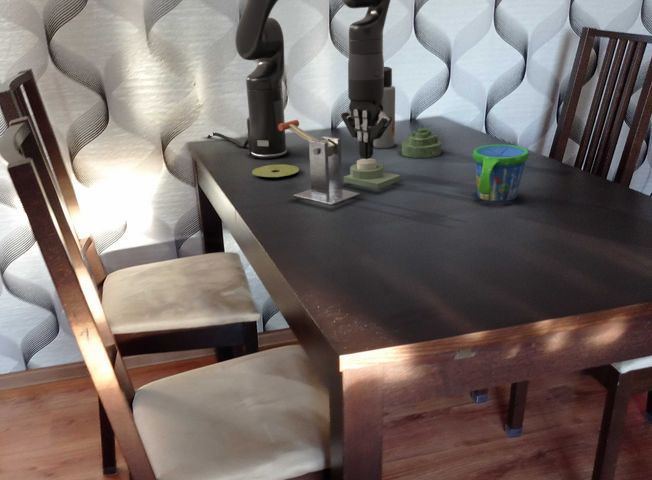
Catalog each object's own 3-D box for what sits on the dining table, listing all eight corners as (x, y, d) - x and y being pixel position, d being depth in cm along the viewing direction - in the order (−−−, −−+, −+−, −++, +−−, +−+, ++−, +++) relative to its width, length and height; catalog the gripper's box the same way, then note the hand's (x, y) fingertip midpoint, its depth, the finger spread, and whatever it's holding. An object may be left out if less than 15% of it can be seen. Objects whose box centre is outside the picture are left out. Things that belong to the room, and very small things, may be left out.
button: (352, 169, 157) (352, 161, 156) (365, 165, 160) (365, 157, 159) (368, 172, 154) (368, 164, 154) (380, 167, 157) (380, 160, 156)
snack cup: (502, 215, 136) (507, 162, 131) (454, 206, 142) (457, 155, 137) (537, 194, 146) (542, 145, 141) (490, 187, 152) (494, 139, 147)
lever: (277, 131, 149) (279, 120, 147) (293, 126, 152) (295, 116, 150) (320, 159, 143) (323, 148, 142) (336, 154, 146) (339, 143, 145)
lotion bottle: (394, 143, 192) (395, 65, 182) (394, 148, 187) (395, 68, 177) (373, 143, 193) (373, 66, 183) (373, 148, 188) (373, 69, 178)
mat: (244, 177, 169) (243, 169, 168) (285, 169, 174) (284, 161, 173) (265, 187, 161) (265, 179, 160) (308, 178, 165) (307, 170, 164)
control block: (343, 186, 159) (342, 168, 157) (365, 178, 164) (365, 160, 162) (378, 193, 152) (378, 175, 150) (400, 184, 157) (400, 167, 155)
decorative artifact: (426, 146, 187) (394, 152, 184) (427, 119, 184) (394, 124, 180) (448, 154, 179) (415, 160, 175) (450, 125, 175) (416, 131, 172)
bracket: (294, 201, 151) (290, 140, 144) (322, 191, 156) (320, 132, 150) (332, 210, 144) (330, 147, 138) (360, 199, 149) (359, 138, 143)
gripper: (402, 75, 146) (400, 158, 154) (353, 71, 154) (354, 150, 162) (379, 80, 141) (378, 166, 150) (330, 76, 149) (332, 157, 158)
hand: (366, 158), depth 156 cm, fingers closed
